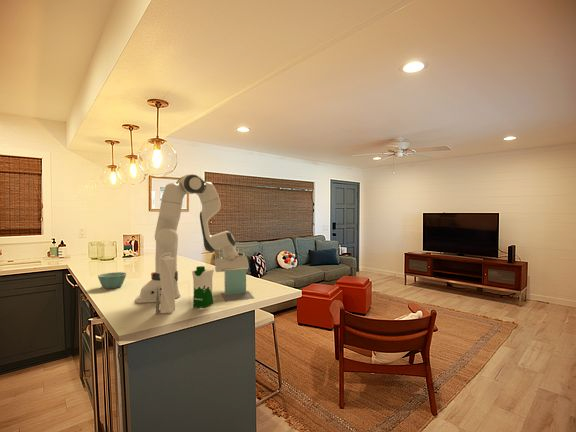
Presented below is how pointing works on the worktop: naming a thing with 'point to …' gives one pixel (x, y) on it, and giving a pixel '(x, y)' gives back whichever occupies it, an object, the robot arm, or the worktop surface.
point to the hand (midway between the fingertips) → (233, 276)
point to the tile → (235, 281)
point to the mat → (237, 296)
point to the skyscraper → (166, 285)
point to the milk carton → (202, 287)
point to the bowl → (112, 280)
